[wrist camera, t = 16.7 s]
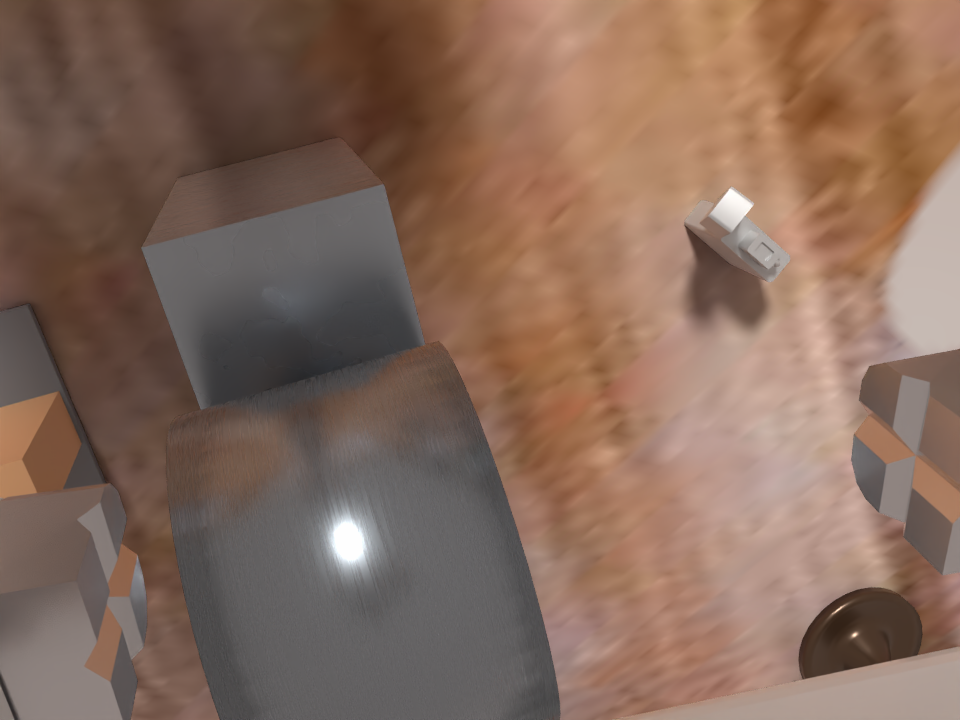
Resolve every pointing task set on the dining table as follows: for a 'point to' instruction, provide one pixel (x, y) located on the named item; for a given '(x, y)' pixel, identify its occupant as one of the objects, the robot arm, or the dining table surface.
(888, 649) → the candlestick
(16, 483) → the plug
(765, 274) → the lighter
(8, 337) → the mat
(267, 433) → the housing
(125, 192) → the dining table surface
